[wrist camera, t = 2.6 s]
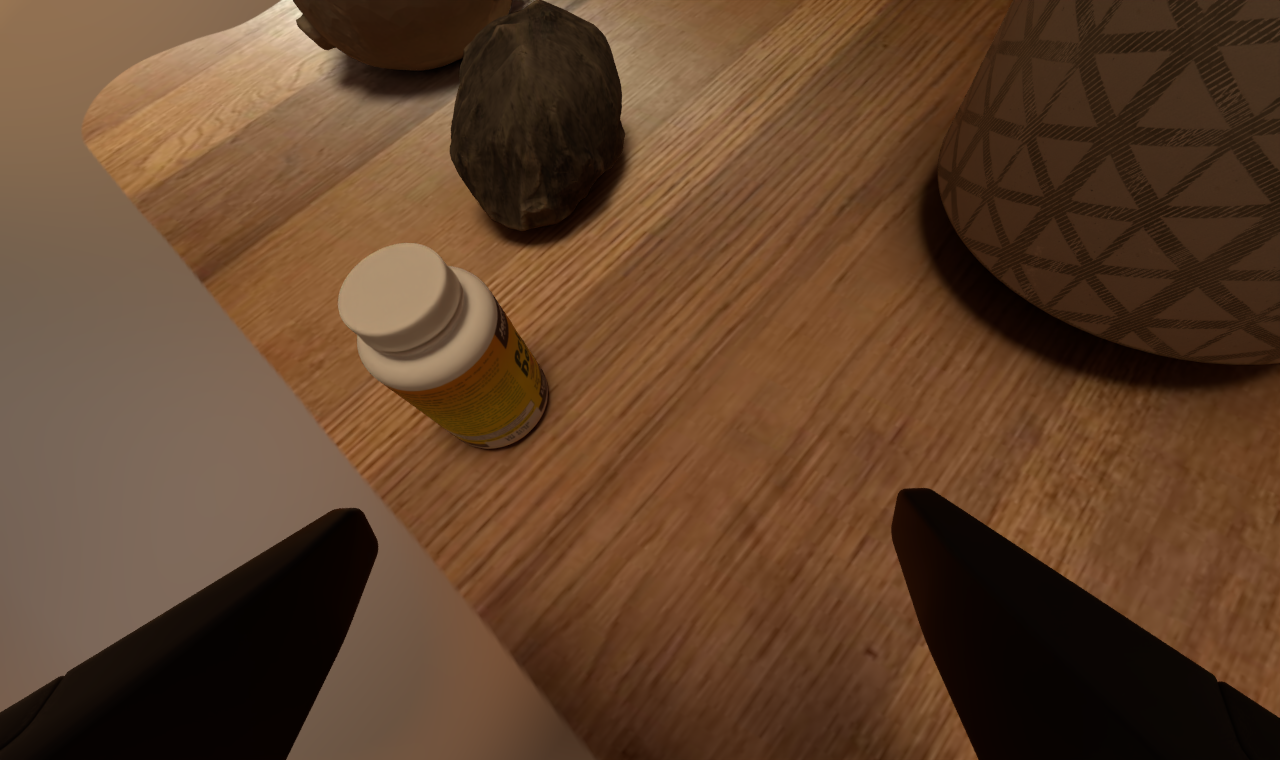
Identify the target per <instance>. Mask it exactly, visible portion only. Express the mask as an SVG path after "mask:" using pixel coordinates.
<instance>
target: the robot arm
mask: <svg viewBox="0 0 1280 760" xmlns="http://www.w3.org/2000/svg"><path fill="white" fill-rule="evenodd" d="M891 533H892V540H893V544H894V547H895V550H896V553H897V556H898V559H899V562H900V565H901V568H902V572H903V575H904V578H905V581H906V584H907V587H908V590H909V593H910V596H911V599H912V602H913V605H914V608H915V611H916V615H917V618H918V621H919V624H920V626H921V629H922V632H923V635H924V638H925V640H926V643H927V645H928V647H929V650H930V652H931V655H932V657H933V659H934V661H935V664H936V666H937V668H938V670H939V672H940V675H941V677H942V679H943V681H944V684H945V686H946V688H947V690H948V693H949V695H950V697H951V699H952V701H953V704H954V706H955V708H956V710H957V713H958V715H959V717H960V719H961V722H962V724H963V726H964V728H965V730H966V733H967V735H968V737H969V739H970V742H971V744H972V746H973V748H974V751H975V753H976V755H977V757H978V759H979V760H1280V718H1279V717H1277V716H1276V715H1274V714H1273V713H1271V712H1270V711H1268V710H1267V709H1265V708H1264V707H1262V706H1260V705H1259V704H1257V703H1256V702H1254V701H1253V700H1251V699H1250V698H1248V697H1247V696H1245V695H1244V694H1242V693H1241V692H1239V691H1238V690H1236V689H1235V688H1233V687H1232V686H1230V685H1229V684H1227V683H1225V682H1217V679H1216V677H1215V676H1214V675H1213V674H1211V673H1210V672H1208V671H1207V670H1205V669H1204V668H1202V667H1201V666H1199V665H1198V664H1196V663H1195V662H1193V661H1192V660H1190V659H1189V658H1187V657H1186V656H1184V655H1182V654H1181V653H1179V652H1178V651H1176V650H1175V649H1173V648H1172V647H1170V646H1169V645H1167V644H1166V643H1164V642H1163V641H1161V640H1160V639H1158V638H1157V637H1155V636H1154V635H1152V634H1151V633H1149V632H1148V631H1146V630H1144V629H1143V628H1141V627H1140V626H1138V625H1137V624H1135V623H1134V622H1132V621H1131V620H1129V619H1128V618H1126V617H1125V616H1123V615H1122V614H1120V613H1119V612H1117V611H1116V610H1114V609H1113V608H1111V607H1109V606H1108V605H1106V604H1105V603H1103V602H1102V601H1100V600H1099V599H1097V598H1096V597H1094V596H1093V595H1091V594H1090V593H1088V592H1087V591H1085V590H1084V589H1082V588H1081V587H1079V586H1078V585H1076V584H1075V583H1073V582H1071V581H1070V580H1068V579H1067V578H1065V577H1064V576H1062V575H1061V574H1059V573H1058V572H1056V571H1055V570H1053V569H1052V568H1050V567H1049V566H1047V565H1046V564H1044V563H1043V562H1041V561H1040V560H1038V559H1036V558H1035V557H1033V556H1032V555H1030V554H1029V553H1027V552H1026V551H1024V550H1023V549H1021V548H1020V547H1018V546H1017V545H1015V544H1014V543H1012V542H1011V541H1009V540H1008V539H1006V538H1005V537H1003V536H1002V535H1000V534H998V533H997V532H995V531H994V530H992V529H991V528H989V527H988V526H986V525H985V524H983V523H982V522H980V521H979V520H977V519H976V518H974V517H973V516H971V515H970V514H968V513H967V512H965V511H963V510H962V509H960V508H959V507H957V506H956V505H954V504H953V503H951V502H950V501H948V500H947V499H945V498H944V497H942V496H941V495H939V494H938V493H936V492H935V491H933V490H931V489H928V488H909V489H903V490H901V491H900V492H899V493H898V496H897V501H896V506H895V511H894V516H893V521H892V527H891ZM377 553H378V541H377V538H376V536H375V535H374V532H373V530H372V528H371V526H370V525H369V523H368V521H367V519H366V517H365V515H364V513H363V512H362V511H361V510H360V509H357V508H342V509H341V508H339V509H334V510H332V511H330V512H328V513H327V514H325V515H324V516H322V517H320V518H319V519H317V520H315V521H314V522H312V523H310V524H309V525H307V526H306V527H304V528H302V529H301V530H299V531H297V532H296V533H294V534H292V535H291V536H289V537H287V538H286V539H284V540H283V541H281V542H279V543H278V544H276V545H274V546H273V547H271V548H270V549H268V550H266V551H265V552H263V553H261V554H260V555H258V556H256V557H255V558H253V559H251V560H250V561H248V562H247V563H245V564H243V565H242V566H240V567H238V568H237V569H235V570H233V571H232V572H230V573H229V574H227V575H225V576H224V577H222V578H221V579H219V580H217V581H215V582H214V583H212V584H211V585H209V586H207V587H206V588H204V589H202V590H201V591H199V592H197V593H196V594H194V595H193V596H191V597H189V598H188V599H186V600H184V601H183V602H181V603H179V604H178V605H176V606H174V607H173V608H171V609H170V610H168V611H166V612H165V613H163V614H162V615H160V616H158V617H157V618H155V619H153V620H152V621H150V622H148V623H147V624H145V625H143V626H142V627H140V628H138V629H137V630H135V631H134V632H132V633H130V634H129V635H127V636H126V637H124V638H122V639H120V640H119V641H117V642H116V643H114V644H112V645H111V646H109V647H107V648H106V649H104V650H102V651H101V652H99V653H98V654H96V655H94V656H93V657H91V658H89V659H88V660H86V661H84V662H83V663H81V664H80V665H78V666H76V667H75V668H73V669H71V670H70V671H68V672H67V674H66V675H65V676H60V677H58V678H56V679H55V680H53V681H51V682H50V683H48V684H46V685H45V686H43V687H42V688H40V689H38V690H37V691H35V692H33V693H32V694H30V695H29V696H27V697H25V698H24V699H22V700H21V701H19V702H17V703H15V704H14V705H12V706H10V707H9V708H7V709H5V710H4V711H2V712H0V760H286V759H287V757H288V754H289V753H290V751H291V748H292V746H293V744H294V742H295V740H296V738H297V736H298V734H299V732H300V730H301V728H302V726H303V724H304V722H305V720H306V718H307V716H308V714H309V711H310V710H311V708H312V706H313V704H314V701H315V700H316V697H317V695H318V693H319V691H320V689H321V687H322V685H323V683H324V681H325V679H326V677H327V675H328V673H329V671H330V669H331V667H332V665H333V663H334V661H335V658H336V657H337V655H338V653H339V650H340V648H341V646H342V644H343V642H344V639H345V637H346V635H347V632H348V630H349V627H350V625H351V622H352V620H353V617H354V614H355V612H356V609H357V607H358V604H359V601H360V599H361V596H362V593H363V591H364V588H365V585H366V583H367V580H368V578H369V575H370V572H371V569H372V567H373V565H374V562H375V559H376V557H377Z"/></svg>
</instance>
